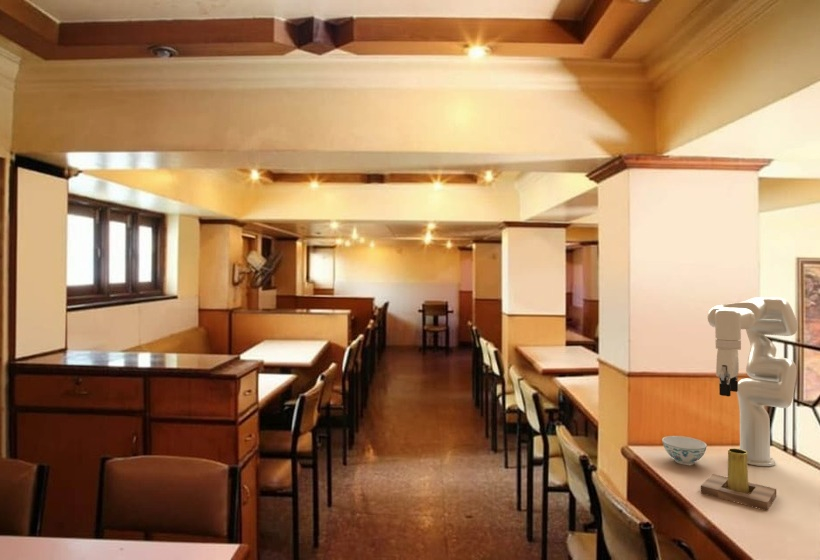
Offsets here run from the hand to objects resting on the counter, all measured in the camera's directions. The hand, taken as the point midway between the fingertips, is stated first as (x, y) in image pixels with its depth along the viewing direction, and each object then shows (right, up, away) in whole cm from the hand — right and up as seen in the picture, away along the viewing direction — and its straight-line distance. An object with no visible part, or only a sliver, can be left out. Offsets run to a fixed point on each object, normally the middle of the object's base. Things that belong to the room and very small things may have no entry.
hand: (728, 393), depth 172 cm
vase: (-5, -31, -12) cm, 33 cm away
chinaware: (-6, -31, +18) cm, 36 cm away
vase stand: (-5, -30, -12) cm, 33 cm away
